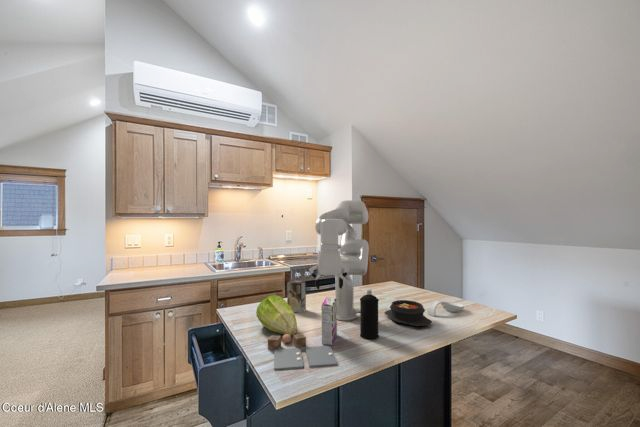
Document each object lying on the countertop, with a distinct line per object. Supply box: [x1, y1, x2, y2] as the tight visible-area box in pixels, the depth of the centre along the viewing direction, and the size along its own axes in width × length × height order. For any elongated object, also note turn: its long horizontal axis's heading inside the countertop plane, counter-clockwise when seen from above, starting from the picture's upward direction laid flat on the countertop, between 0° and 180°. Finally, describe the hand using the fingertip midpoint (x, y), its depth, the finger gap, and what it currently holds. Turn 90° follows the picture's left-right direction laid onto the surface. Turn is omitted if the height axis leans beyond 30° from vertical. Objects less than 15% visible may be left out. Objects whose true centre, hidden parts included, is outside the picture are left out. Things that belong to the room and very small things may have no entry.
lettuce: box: [255, 294, 298, 336], centre depth 129 cm, size 15×24×16 cm
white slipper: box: [427, 299, 465, 317], centre depth 155 cm, size 24×12×7 cm, turn 120°
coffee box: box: [286, 279, 307, 314], centre depth 157 cm, size 9×6×16 cm
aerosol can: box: [359, 289, 380, 341], centre depth 123 cm, size 8×8×20 cm
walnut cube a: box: [292, 332, 307, 349], centre depth 113 cm, size 4×4×4 cm
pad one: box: [304, 345, 339, 368], centre depth 104 cm, size 10×14×1 cm
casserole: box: [383, 299, 433, 327], centre depth 142 cm, size 25×19×8 cm
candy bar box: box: [321, 296, 338, 346], centre depth 119 cm, size 11×5×16 cm, turn 168°
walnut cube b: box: [267, 335, 282, 351], centre depth 112 cm, size 4×4×4 cm
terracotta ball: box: [282, 334, 292, 344], centre depth 116 cm, size 4×4×4 cm
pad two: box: [273, 347, 305, 371], centre depth 103 cm, size 10×14×1 cm
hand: (329, 288), depth 119 cm, fingers open, 9 cm apart
